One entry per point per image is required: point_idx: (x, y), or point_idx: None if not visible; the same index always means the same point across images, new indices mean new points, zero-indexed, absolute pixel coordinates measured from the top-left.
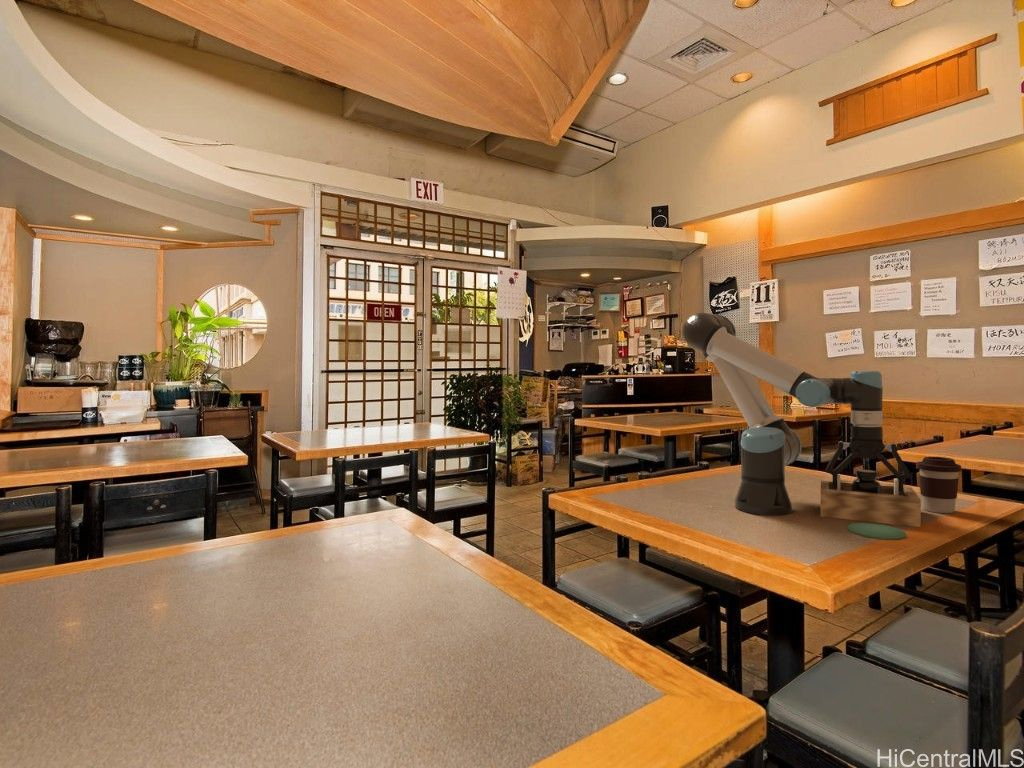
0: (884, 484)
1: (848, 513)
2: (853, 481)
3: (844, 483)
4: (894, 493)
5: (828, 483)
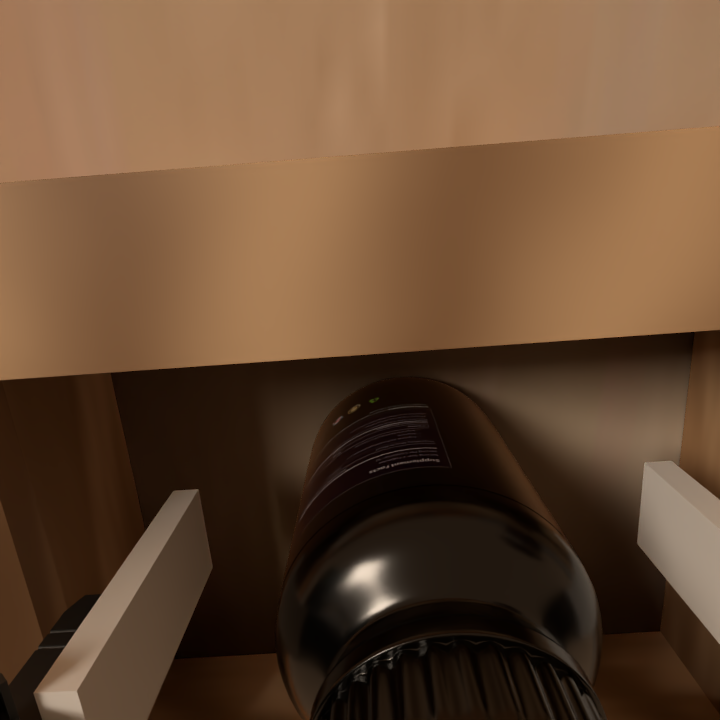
0: (680, 225)
1: None
2: (288, 694)
3: (169, 364)
4: (695, 556)
5: (6, 523)
